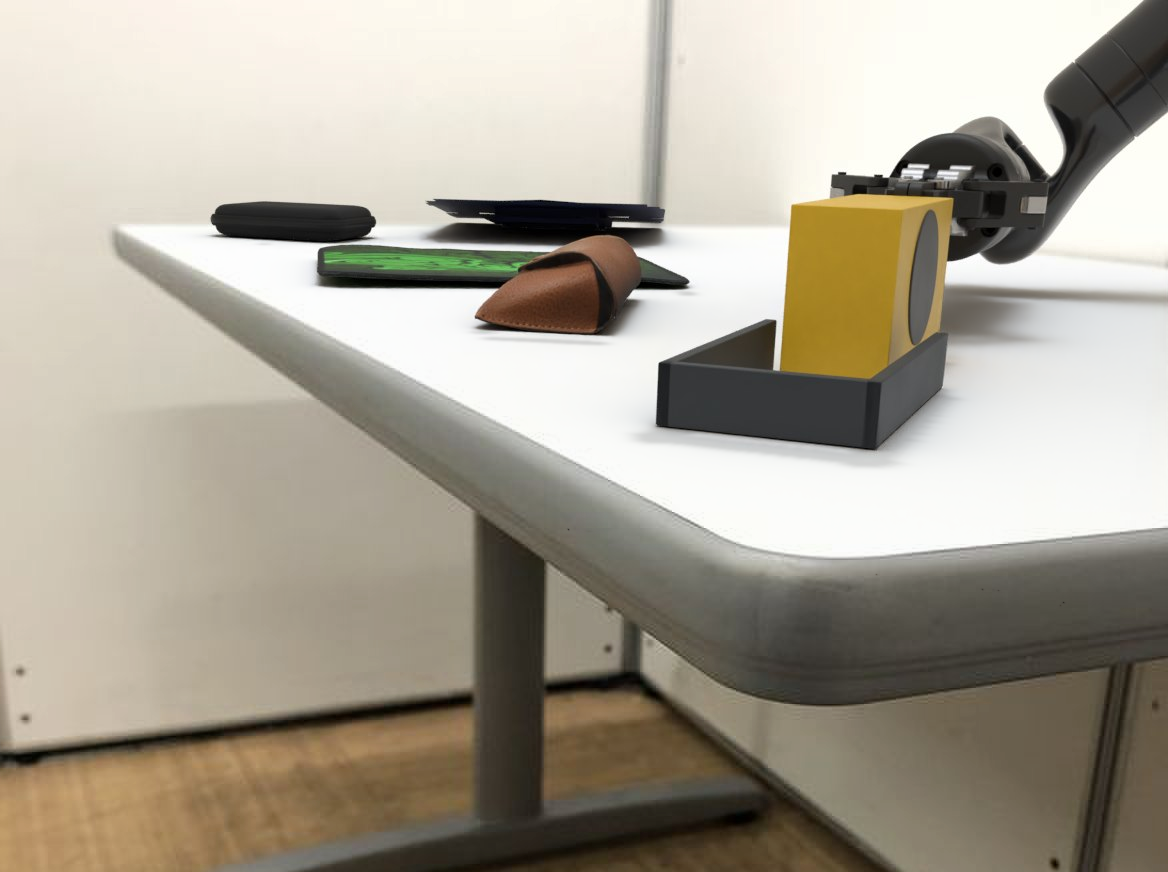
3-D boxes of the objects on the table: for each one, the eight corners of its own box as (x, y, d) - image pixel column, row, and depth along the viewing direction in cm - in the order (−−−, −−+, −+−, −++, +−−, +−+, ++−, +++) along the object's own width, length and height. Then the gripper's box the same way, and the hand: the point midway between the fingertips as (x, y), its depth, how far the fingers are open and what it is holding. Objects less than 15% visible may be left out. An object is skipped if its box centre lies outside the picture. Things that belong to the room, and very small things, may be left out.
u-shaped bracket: (761, 370, 69) (765, 318, 68) (942, 386, 65) (948, 332, 65) (655, 425, 55) (657, 362, 55) (875, 449, 52) (881, 382, 51)
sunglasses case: (516, 285, 97) (568, 200, 94) (602, 341, 97) (656, 258, 95) (468, 319, 80) (529, 217, 77) (573, 388, 80) (636, 287, 78)
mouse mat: (635, 258, 123) (635, 246, 122) (698, 287, 102) (699, 272, 102) (317, 255, 118) (316, 243, 118) (317, 285, 98) (316, 270, 97)
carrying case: (389, 236, 141) (263, 229, 146) (388, 205, 140) (261, 199, 145) (335, 243, 132) (202, 236, 137) (334, 210, 131) (200, 203, 136)
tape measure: (842, 345, 77) (855, 193, 74) (939, 353, 75) (955, 198, 72) (776, 381, 66) (789, 204, 63) (887, 392, 64) (905, 209, 61)
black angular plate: (412, 227, 135) (412, 188, 134) (453, 242, 164) (454, 209, 164) (665, 234, 134) (667, 195, 133) (662, 247, 163) (663, 215, 163)
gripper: (1060, 264, 87) (1027, 286, 72) (849, 251, 92) (777, 269, 77) (1077, 136, 85) (1047, 132, 70) (860, 130, 90) (788, 125, 75)
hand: (905, 204), depth 74 cm, fingers closed
